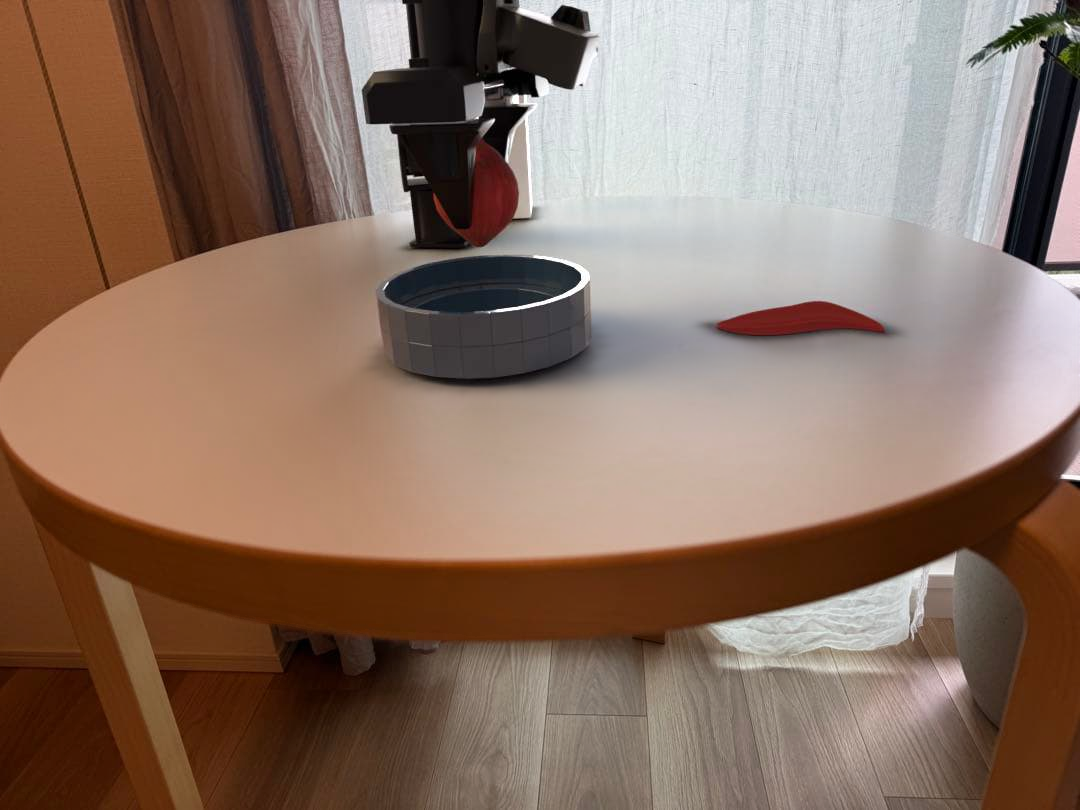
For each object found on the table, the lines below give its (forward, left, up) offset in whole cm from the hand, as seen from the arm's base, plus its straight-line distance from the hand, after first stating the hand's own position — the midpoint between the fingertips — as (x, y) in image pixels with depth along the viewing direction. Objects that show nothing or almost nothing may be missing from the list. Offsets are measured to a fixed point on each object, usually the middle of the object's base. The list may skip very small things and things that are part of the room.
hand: (478, 218), depth 57 cm
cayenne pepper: (+22, +7, -10) cm, 25 cm away
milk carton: (-14, +47, -10) cm, 50 cm away
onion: (0, 0, -2) cm, 2 cm away
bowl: (0, 0, -9) cm, 9 cm away
